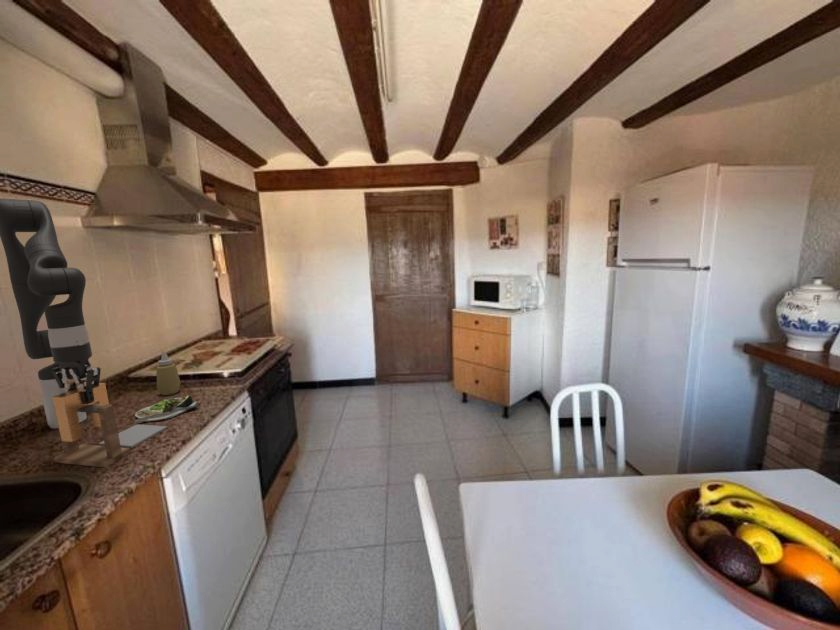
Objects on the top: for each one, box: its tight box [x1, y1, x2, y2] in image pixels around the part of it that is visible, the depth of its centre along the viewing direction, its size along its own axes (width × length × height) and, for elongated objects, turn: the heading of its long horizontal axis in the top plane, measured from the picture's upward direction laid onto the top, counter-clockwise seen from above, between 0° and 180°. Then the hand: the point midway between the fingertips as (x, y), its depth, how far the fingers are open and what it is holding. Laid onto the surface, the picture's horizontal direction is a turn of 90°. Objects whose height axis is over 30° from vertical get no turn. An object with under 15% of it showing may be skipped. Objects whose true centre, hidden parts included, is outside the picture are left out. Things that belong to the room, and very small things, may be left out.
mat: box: [98, 424, 168, 449], centre depth 111 cm, size 12×12×1 cm
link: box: [52, 382, 110, 442], centre depth 97 cm, size 4×10×12 cm, turn 170°
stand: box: [54, 403, 132, 468], centre depth 98 cm, size 17×7×16 cm, turn 80°
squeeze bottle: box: [155, 351, 181, 396], centre depth 145 cm, size 8×8×18 cm
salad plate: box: [134, 394, 199, 423], centre depth 127 cm, size 19×18×5 cm
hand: (82, 402), depth 96 cm, fingers open, 4 cm apart
